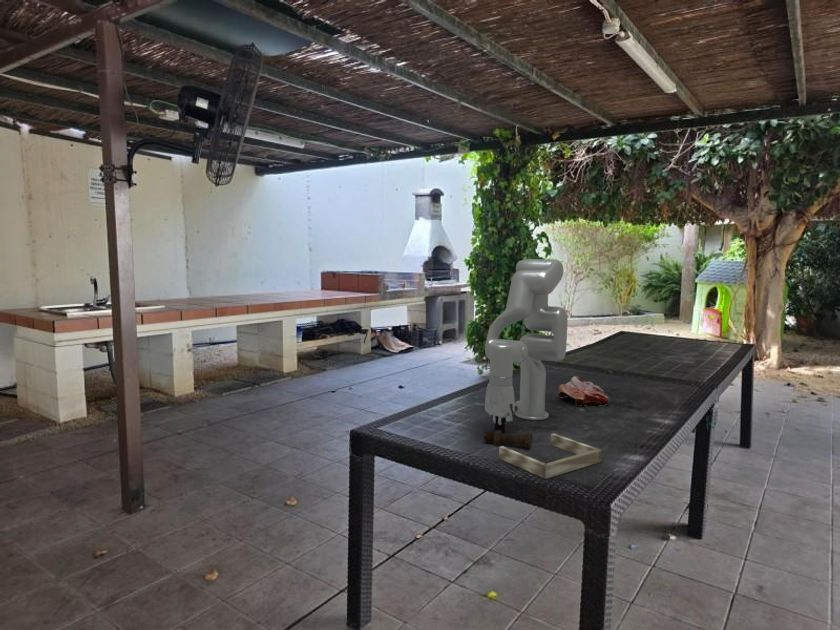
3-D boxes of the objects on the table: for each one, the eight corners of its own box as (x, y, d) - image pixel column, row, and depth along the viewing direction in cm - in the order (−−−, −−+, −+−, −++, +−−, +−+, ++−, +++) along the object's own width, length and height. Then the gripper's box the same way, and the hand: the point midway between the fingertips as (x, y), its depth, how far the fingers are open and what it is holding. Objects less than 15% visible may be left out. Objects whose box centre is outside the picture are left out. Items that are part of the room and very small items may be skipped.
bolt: (485, 447, 176) (531, 451, 170) (481, 443, 171) (529, 448, 166) (486, 429, 178) (532, 433, 173) (483, 425, 174) (530, 429, 168)
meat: (619, 401, 230) (620, 379, 229) (597, 411, 214) (598, 386, 213) (574, 393, 244) (575, 371, 243) (550, 401, 229) (551, 378, 228)
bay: (498, 458, 160) (499, 446, 160) (553, 444, 174) (554, 433, 173) (545, 479, 145) (546, 466, 145) (601, 461, 158) (602, 450, 158)
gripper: (477, 377, 180) (476, 431, 181) (508, 386, 167) (506, 443, 169) (494, 375, 184) (493, 427, 186) (525, 383, 171) (523, 439, 173)
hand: (499, 435), depth 177 cm, fingers closed
